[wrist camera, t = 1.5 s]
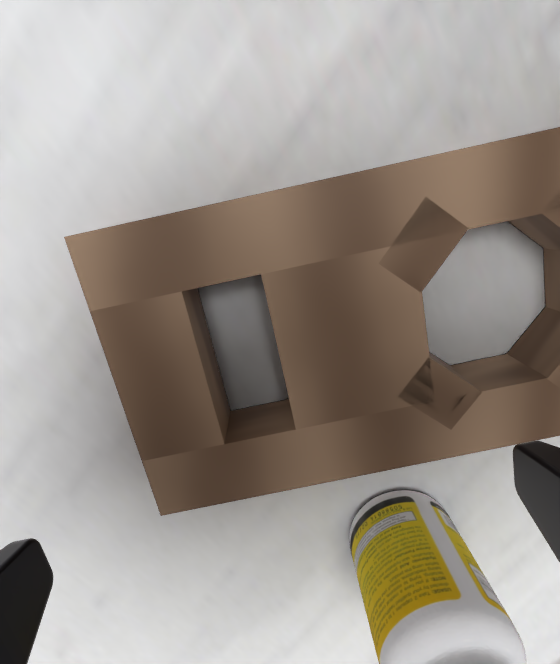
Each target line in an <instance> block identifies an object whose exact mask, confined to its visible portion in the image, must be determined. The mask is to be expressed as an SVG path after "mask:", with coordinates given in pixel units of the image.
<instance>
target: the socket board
mask: <svg viewBox="0 0 560 664" xmlns="http://www.w3.org/2000/svg"><path fill="white" fill-rule="evenodd" d="M505 221H508V222H510V223H511V224H512V225H513V226H515V227H516V228H517V229H519V230H520V231H521V232H523V233H524V234H525V235H527V236H528V237H529V238H531V239H532V240H533V241H535V242H536V243H537V244H539V245H540V246H541V247H543V248H544V276H545V304H546V307H545V308H544V309H543V311H542V312H541V313H540V314H539V315H538V317H537V318H536V319H535V320H534V321H533V323H532V324H531V325H530V326H529V327H528V329H527V330H526V331H525V332H524V334H523V335H522V336H521V337H520V338H519V340H518V341H517V342H516V343H515V344H514V346H513V347H512V348H511V349H510V350H509V352H508V353H507V354H504V355H499V356H494V357H489V358H484V359H480V360H475V361H470V362H465V363H460V364H455V365H451V366H450V365H448V364H447V363H445V362H444V361H442V360H441V359H439V358H438V357H436V356H435V355H433V354H432V353H430V352H429V348H428V340H427V331H426V323H425V314H424V306H423V297H422V291H423V289H424V288H425V287H426V285H427V284H428V283H429V281H430V280H431V278H432V277H433V276H434V274H435V273H436V272H437V270H438V269H439V268H440V266H441V265H442V264H443V262H444V261H445V260H446V258H447V257H448V256H449V254H450V253H451V252H452V250H453V249H454V248H455V246H456V245H457V243H458V242H459V241H460V239H461V238H462V237H463V235H464V234H465V233H466V231H467V230H468V229H473V228H478V227H482V226H487V225H491V224H496V223H501V222H505ZM64 238H65V241H66V244H67V247H68V250H69V252H70V255H71V258H72V261H73V264H74V267H75V270H76V273H77V276H78V278H79V281H80V284H81V287H82V290H83V293H84V296H85V299H86V301H87V304H88V307H89V310H90V313H91V316H92V319H93V322H94V324H95V327H96V330H97V333H98V336H99V339H100V342H101V345H102V348H103V350H104V353H105V356H106V359H107V362H108V365H109V368H110V371H111V373H112V376H113V379H114V382H115V385H116V388H117V391H118V394H119V396H120V399H121V402H122V405H123V408H124V411H125V414H126V417H127V420H128V422H129V425H130V428H131V431H132V434H133V437H134V440H135V443H136V445H137V448H138V451H139V454H140V457H141V460H142V463H143V466H144V468H145V471H146V474H147V477H148V480H149V483H150V486H151V489H152V492H153V494H154V497H155V500H156V503H157V506H158V509H159V512H160V515H161V516H162V515H167V514H172V513H177V512H182V511H187V510H192V509H197V508H202V507H207V506H212V505H217V504H222V503H227V502H231V501H236V500H241V499H246V498H251V497H256V496H261V495H266V494H271V493H276V492H281V491H286V490H291V489H296V488H301V487H306V486H311V485H316V484H321V483H326V482H331V481H336V480H341V479H346V478H351V477H356V476H361V475H366V474H371V473H376V472H381V471H386V470H391V469H396V468H401V467H406V466H411V465H416V464H421V463H426V462H431V461H436V460H441V459H446V458H451V457H456V456H460V455H465V454H470V453H475V452H480V451H485V450H490V449H495V448H500V447H505V446H510V445H515V444H520V443H525V442H530V441H535V440H540V439H545V438H550V437H555V436H560V127H558V128H554V129H549V130H545V131H540V132H536V133H531V134H527V135H522V136H518V137H513V138H509V139H504V140H500V141H495V142H491V143H486V144H482V145H477V146H473V147H468V148H464V149H459V150H454V151H450V152H445V153H441V154H436V155H432V156H427V157H423V158H418V159H414V160H409V161H405V162H400V163H396V164H391V165H387V166H382V167H378V168H373V169H369V170H364V171H360V172H355V173H351V174H346V175H342V176H337V177H333V178H328V179H324V180H319V181H315V182H310V183H306V184H301V185H297V186H292V187H288V188H283V189H279V190H274V191H270V192H265V193H261V194H256V195H252V196H247V197H243V198H238V199H234V200H229V201H225V202H220V203H216V204H211V205H207V206H202V207H198V208H193V209H189V210H184V211H180V212H175V213H171V214H166V215H162V216H157V217H152V218H148V219H143V220H139V221H134V222H130V223H125V224H121V225H116V226H112V227H107V228H103V229H98V230H94V231H89V232H85V233H80V234H76V235H71V236H67V237H64ZM260 274H261V277H262V281H263V285H264V290H265V294H266V299H267V303H268V308H269V312H270V317H271V321H272V326H273V330H274V334H275V339H276V343H277V348H278V352H279V357H280V361H281V366H282V370H283V375H284V379H285V383H286V388H287V392H288V397H289V399H286V400H282V401H277V402H272V403H267V404H262V405H258V406H253V407H248V408H243V409H238V410H233V411H230V407H229V404H228V400H227V396H226V392H225V389H224V385H223V381H222V378H221V374H220V370H219V366H218V363H217V359H216V355H215V352H214V348H213V344H212V340H211V337H210V333H209V329H208V326H207V322H206V318H205V314H204V311H203V307H202V303H201V300H200V296H199V292H198V288H200V287H205V286H209V285H214V284H219V283H223V282H228V281H232V280H237V279H242V278H246V277H251V276H256V275H260Z"/></svg>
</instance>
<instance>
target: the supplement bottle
mask: <svg viewBox="0 0 560 664" xmlns="http://www.w3.org/2000/svg"><path fill="white" fill-rule="evenodd" d="M349 541H350V549H351V554H352V558H353V562H354V566H355V570H356V574H357V578H358V581H359V585H360V590H361V594H362V598H363V602H364V606H365V610H366V614H367V618H368V622H369V626H370V630H371V634H372V638H373V641H374V645H375V650H376V653H377V657H378V661H379V664H526V654H525V649H524V646H523V643H522V640H521V638H520V636H519V634H518V632H517V630H516V628H515V626H514V625H513V623H512V621H511V619H510V618H509V616H508V615H507V613H506V611H505V609H504V608H503V606H502V605H501V603H500V601H499V599H498V598H497V596H496V594H495V593H494V591H493V589H492V588H491V586H490V584H489V582H488V581H487V579H486V578H485V576H484V574H483V572H482V571H481V569H480V568H479V566H478V564H477V562H476V561H475V559H474V557H473V556H472V554H471V552H470V551H469V549H468V547H467V546H466V544H465V542H464V541H463V539H462V537H461V536H460V534H459V532H458V531H457V529H456V527H455V525H454V524H453V522H452V521H451V519H450V517H449V516H448V514H447V513H446V511H445V510H444V508H443V507H442V506H441V505H440V504H439V503H438V502H437V501H436V500H434V499H433V498H431V497H430V496H428V495H425V494H423V493H420V492H416V491H409V490H399V491H392V492H388V493H385V494H382V495H379V496H377V497H375V498H373V499H372V500H370V501H369V502H368V503H366V504H365V505H364V506H363V507H362V508H361V509H360V510H359V512H358V513H357V514H356V516H355V518H354V520H353V522H352V525H351V529H350V536H349Z"/></svg>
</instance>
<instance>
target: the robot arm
mask: <svg viewBox="0 0 560 664" xmlns="http://www.w3.org/2000/svg"><path fill="white" fill-rule="evenodd" d="M513 464H514V481H515V487H516V490H517V493H518V495H519V497H520V499H521V500H522V502H523V504H524V505H525V507H526V509H527V510H528V512H529V513H530V515H531V517H532V518H533V520H534V521H535V523H536V525H537V526H538V528H539V530H540V531H541V533H542V534H543V536H544V538H545V539H546V541H547V543H548V544H549V546H550V547H551V549H552V551H553V552H554V554H555V555H556V557H557V559H558V560H559V562H560V448H559V447H556V446H553V445H550V444H547V443H544V442H541V441H531V442H526V443H521V444H517V445H516V446H515V447H514V449H513ZM52 585H53V572H52V569H51V567H50V565H49V562H48V560H47V558H46V556H45V554H44V551H43V549H42V547H41V545H40V543H39V542H38V541H37V540H36V539H32V538H31V539H25V540H20V541H15V542H12V543H10V544H8V545H7V546H6V547H4V548H3V549H1V550H0V664H27V662H28V659H29V656H30V653H31V650H32V647H33V644H34V641H35V638H36V635H37V632H38V629H39V625H40V622H41V619H42V616H43V613H44V610H45V607H46V604H47V601H48V598H49V595H50V592H51V589H52Z"/></svg>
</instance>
